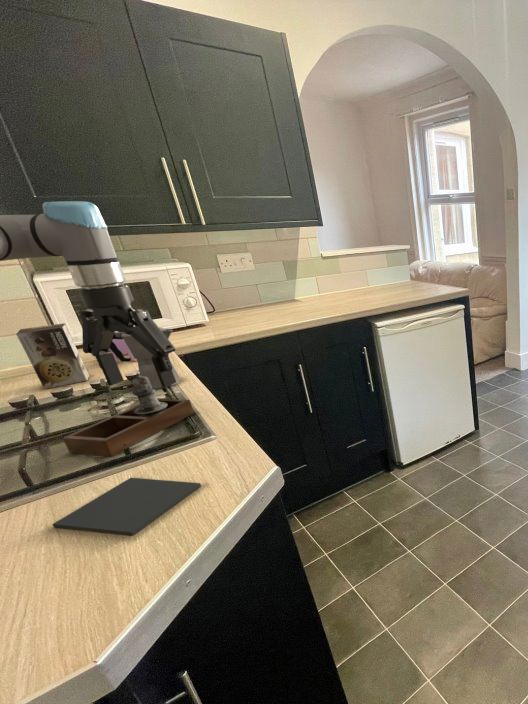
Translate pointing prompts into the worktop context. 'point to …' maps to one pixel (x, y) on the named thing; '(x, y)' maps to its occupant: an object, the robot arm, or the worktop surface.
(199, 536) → the worktop surface
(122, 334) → the coffeepot
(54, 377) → the cookie mix box
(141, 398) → the grey chess piece
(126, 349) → the clip
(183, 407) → the brown shallow rectangular box
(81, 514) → the mat
